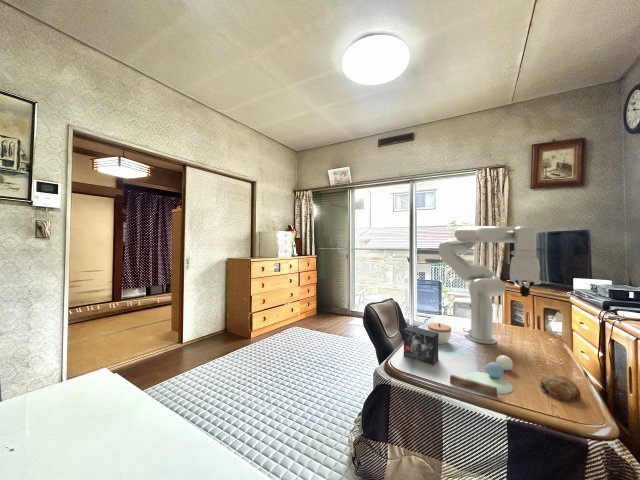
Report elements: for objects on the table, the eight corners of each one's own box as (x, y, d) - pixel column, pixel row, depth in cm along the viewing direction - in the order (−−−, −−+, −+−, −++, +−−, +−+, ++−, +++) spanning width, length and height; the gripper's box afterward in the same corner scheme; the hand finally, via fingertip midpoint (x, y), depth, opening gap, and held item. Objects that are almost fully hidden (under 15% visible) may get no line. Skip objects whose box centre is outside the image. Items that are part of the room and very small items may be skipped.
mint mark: (459, 380, 96) (459, 380, 96) (475, 368, 104) (475, 368, 104) (504, 399, 85) (504, 398, 85) (518, 384, 93) (518, 383, 93)
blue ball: (489, 372, 102) (483, 376, 98) (489, 358, 102) (483, 361, 98) (505, 378, 97) (500, 382, 94) (506, 363, 98) (500, 367, 94)
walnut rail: (450, 382, 94) (450, 375, 94) (450, 381, 95) (450, 374, 95) (496, 396, 86) (496, 389, 86) (496, 394, 87) (496, 387, 87)
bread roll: (537, 396, 92) (528, 376, 92) (561, 382, 93) (552, 363, 93) (566, 415, 83) (556, 392, 82) (592, 399, 83) (583, 377, 83)
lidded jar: (450, 339, 135) (450, 321, 135) (451, 347, 125) (451, 328, 125) (428, 336, 139) (428, 318, 139) (427, 343, 129) (427, 324, 129)
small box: (402, 355, 116) (403, 329, 116) (409, 351, 121) (409, 325, 121) (432, 365, 107) (433, 336, 107) (439, 360, 112) (439, 332, 112)
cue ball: (499, 352, 108) (497, 366, 107) (495, 353, 105) (493, 367, 104) (515, 357, 104) (514, 372, 103) (511, 358, 100) (510, 373, 100)
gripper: (502, 253, 117) (501, 294, 118) (545, 255, 106) (544, 300, 106) (507, 253, 122) (507, 292, 122) (549, 255, 110) (549, 298, 110)
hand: (524, 296), depth 114 cm, fingers closed
